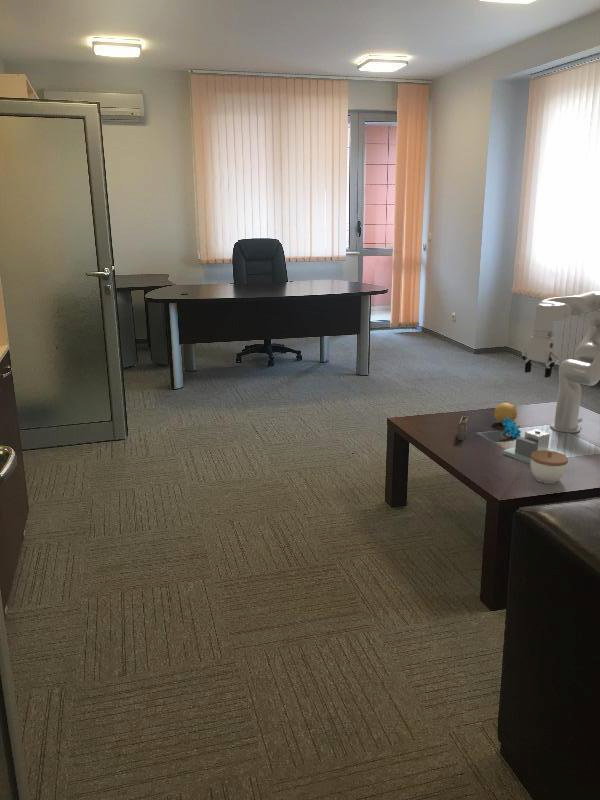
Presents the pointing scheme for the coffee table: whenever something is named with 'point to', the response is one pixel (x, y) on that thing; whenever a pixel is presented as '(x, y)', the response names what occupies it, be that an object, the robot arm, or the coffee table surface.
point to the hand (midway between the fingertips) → (537, 374)
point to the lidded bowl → (548, 465)
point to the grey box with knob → (539, 438)
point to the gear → (511, 428)
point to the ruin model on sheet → (463, 428)
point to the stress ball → (505, 412)
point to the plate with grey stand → (524, 449)
